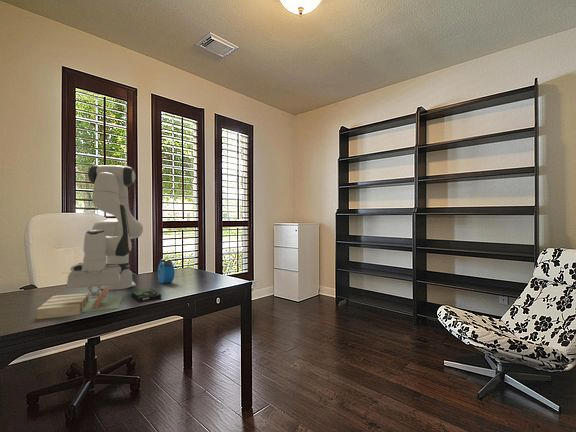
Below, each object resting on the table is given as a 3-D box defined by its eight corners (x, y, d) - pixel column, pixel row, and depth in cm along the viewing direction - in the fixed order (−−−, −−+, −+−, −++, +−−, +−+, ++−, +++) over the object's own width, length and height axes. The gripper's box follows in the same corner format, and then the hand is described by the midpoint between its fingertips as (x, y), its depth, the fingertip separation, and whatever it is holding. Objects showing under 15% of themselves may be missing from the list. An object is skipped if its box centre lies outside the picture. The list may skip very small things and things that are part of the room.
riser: (52, 304, 137) (52, 295, 137) (88, 301, 143) (88, 292, 143) (36, 319, 117) (36, 309, 117) (79, 314, 123) (79, 305, 123)
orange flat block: (105, 287, 141) (109, 289, 142) (95, 300, 139) (99, 302, 140) (102, 292, 132) (106, 294, 133) (91, 306, 130) (96, 308, 131)
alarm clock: (174, 284, 182) (175, 259, 182) (164, 285, 178) (164, 260, 178) (167, 280, 192) (167, 257, 192) (157, 281, 188) (157, 258, 188)
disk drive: (161, 299, 149) (152, 293, 161) (161, 294, 149) (152, 288, 161) (139, 303, 143) (131, 296, 154) (139, 297, 143) (131, 291, 154)
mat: (89, 299, 146) (89, 298, 146) (122, 296, 152) (122, 295, 152) (80, 312, 126) (80, 311, 126) (118, 308, 132) (118, 307, 132)
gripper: (121, 263, 142) (121, 292, 142) (69, 265, 134) (69, 296, 134) (120, 265, 137) (120, 295, 137) (66, 267, 128) (65, 299, 128)
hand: (94, 295), depth 135 cm, fingers closed
